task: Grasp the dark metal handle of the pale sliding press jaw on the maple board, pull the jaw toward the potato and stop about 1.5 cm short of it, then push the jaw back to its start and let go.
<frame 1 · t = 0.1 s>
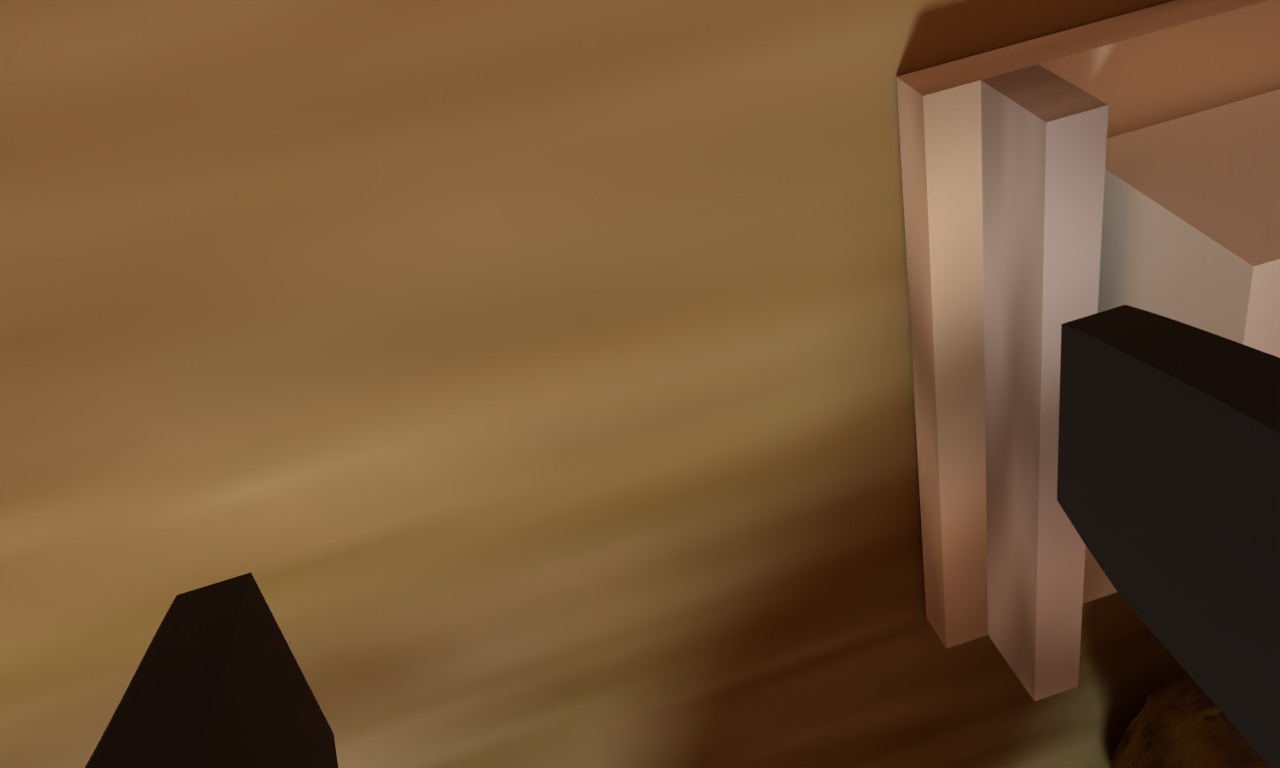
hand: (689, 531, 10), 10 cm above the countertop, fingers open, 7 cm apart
potato: (1172, 712, 32), on the countertop
press board: (1232, 292, 24), on the countertop
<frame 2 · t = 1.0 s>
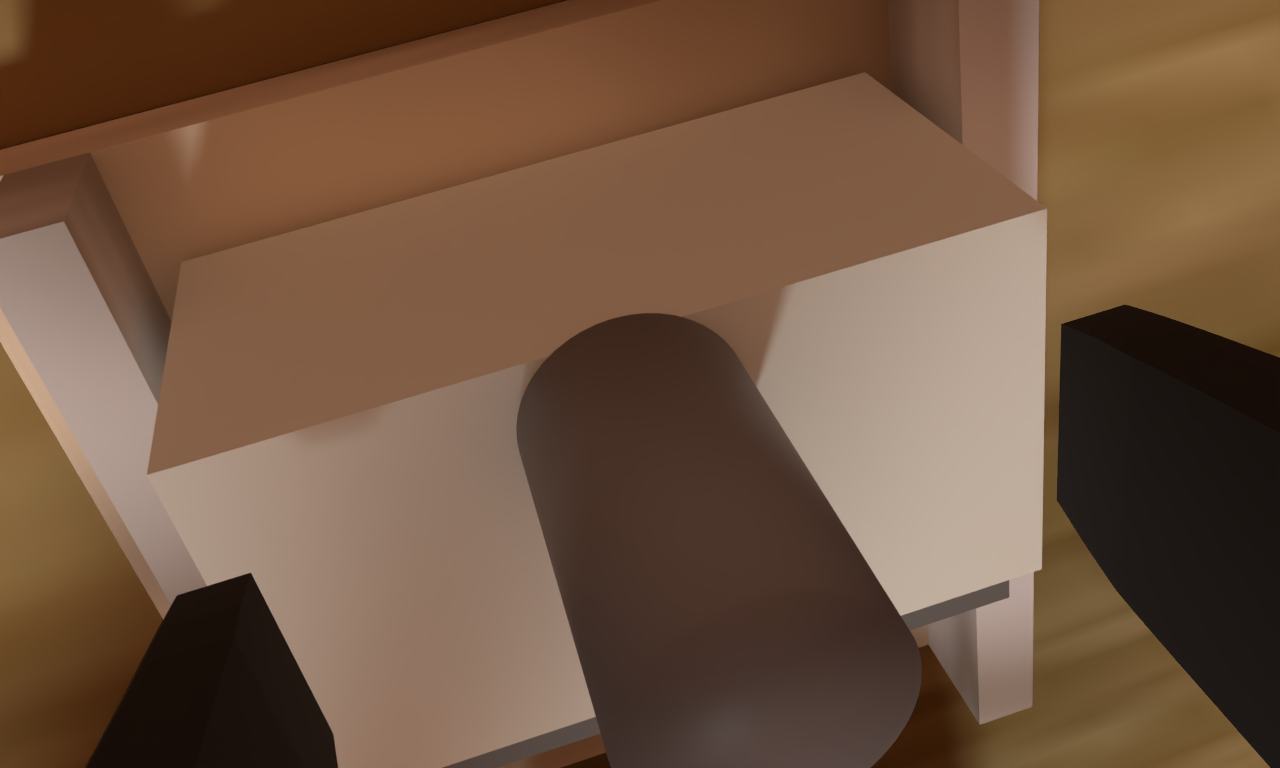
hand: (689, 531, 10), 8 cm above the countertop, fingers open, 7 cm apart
press jaw: (657, 528, 13), point 6 cm above the countertop, slide at 0.0 cm
press board: (592, 419, 19), on the countertop
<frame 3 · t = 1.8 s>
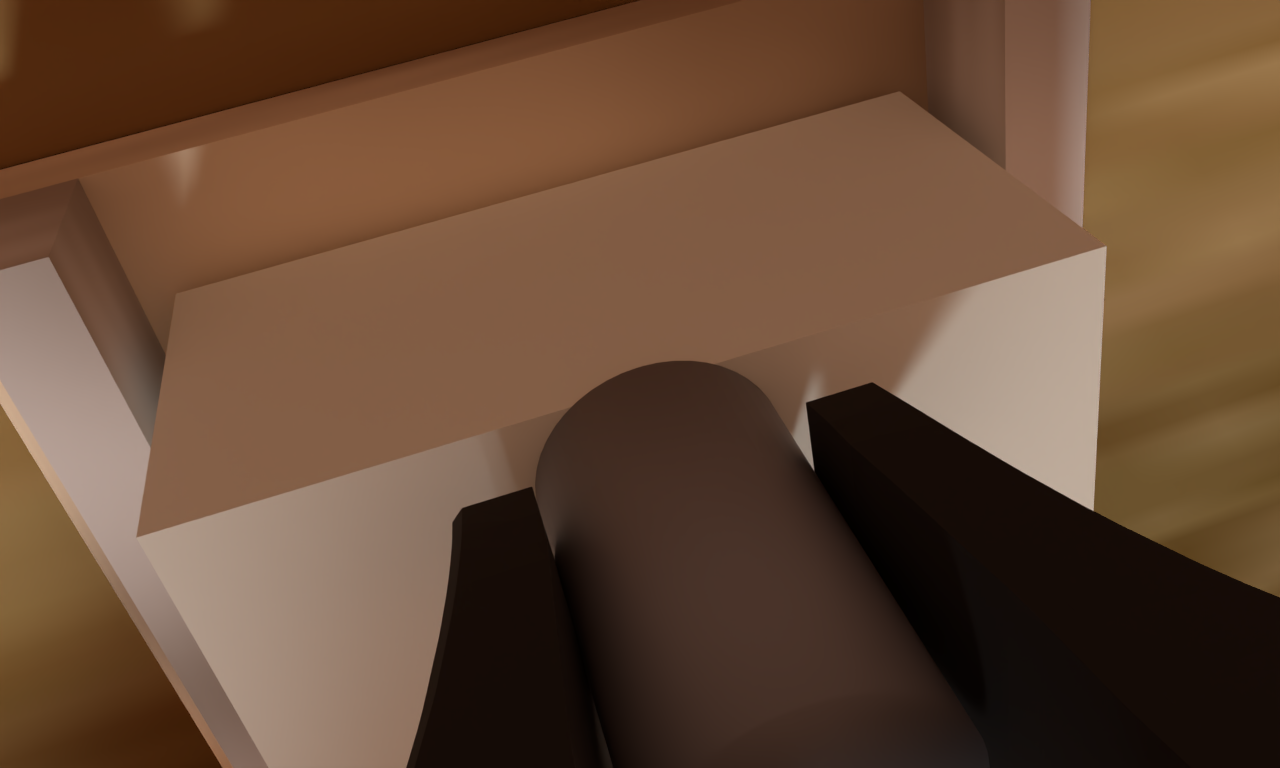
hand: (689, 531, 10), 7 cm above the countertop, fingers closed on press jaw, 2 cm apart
press jaw: (683, 583, 12), point 6 cm above the countertop, slide at 0.0 cm, touching gripper
press board: (607, 450, 18), on the countertop
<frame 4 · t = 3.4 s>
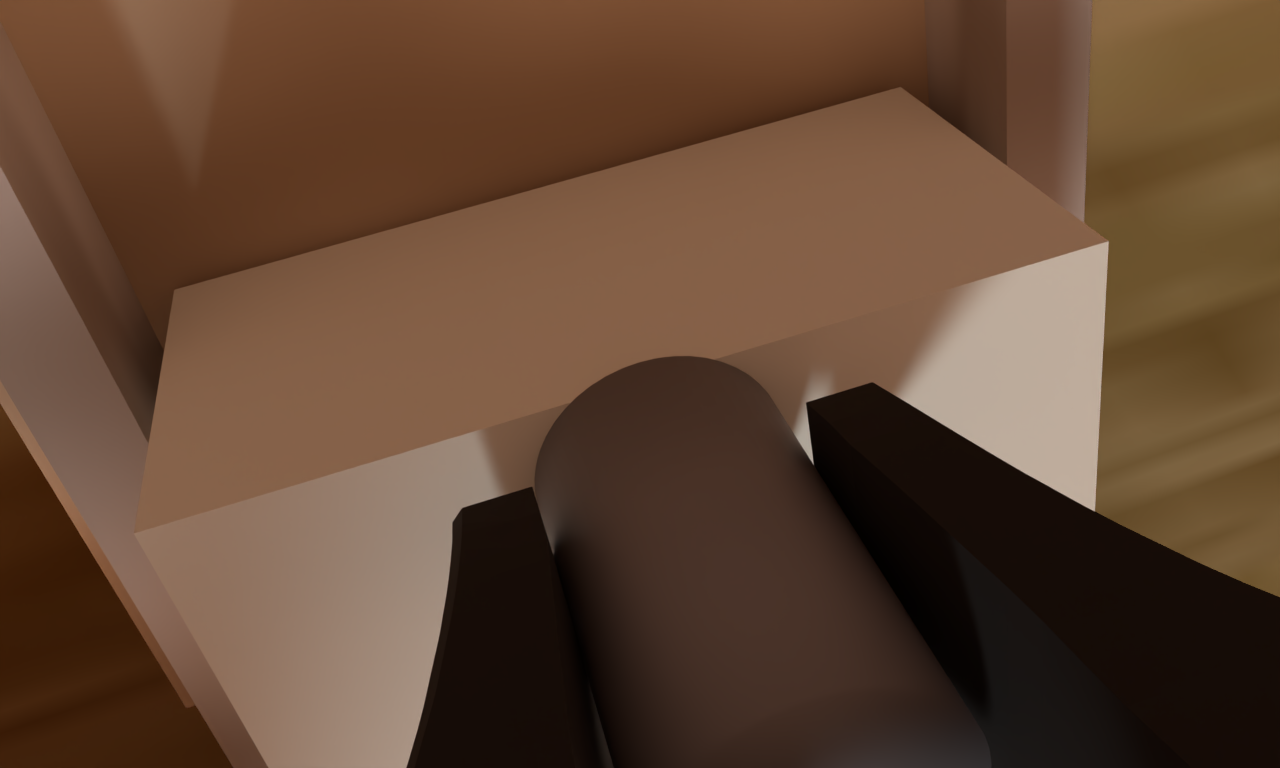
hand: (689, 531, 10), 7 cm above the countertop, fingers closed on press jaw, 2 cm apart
press jaw: (683, 580, 12), point 6 cm above the countertop, slide at 4.9 cm, touching gripper
press board: (531, 150, 15), on the countertop
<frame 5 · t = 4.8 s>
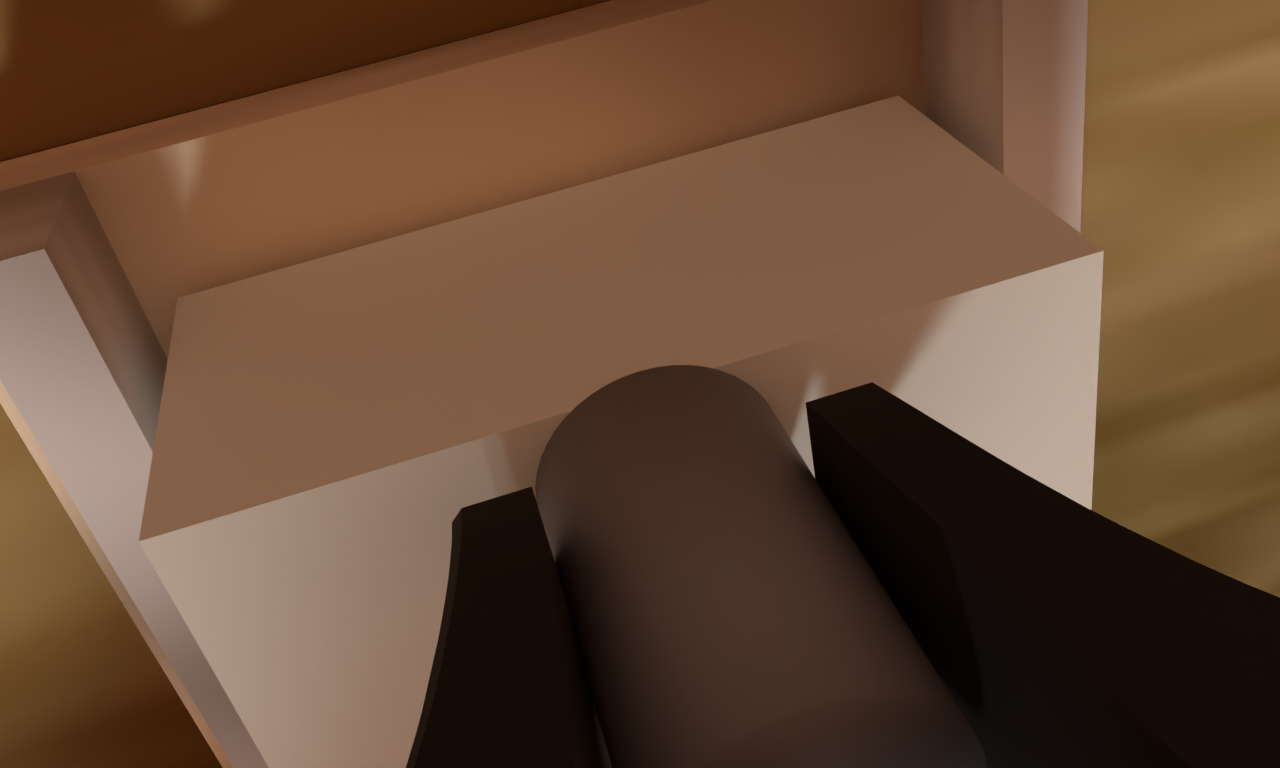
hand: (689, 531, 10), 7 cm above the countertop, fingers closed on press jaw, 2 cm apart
press jaw: (683, 586, 12), point 6 cm above the countertop, slide at 0.1 cm, touching gripper
press board: (605, 445, 18), on the countertop
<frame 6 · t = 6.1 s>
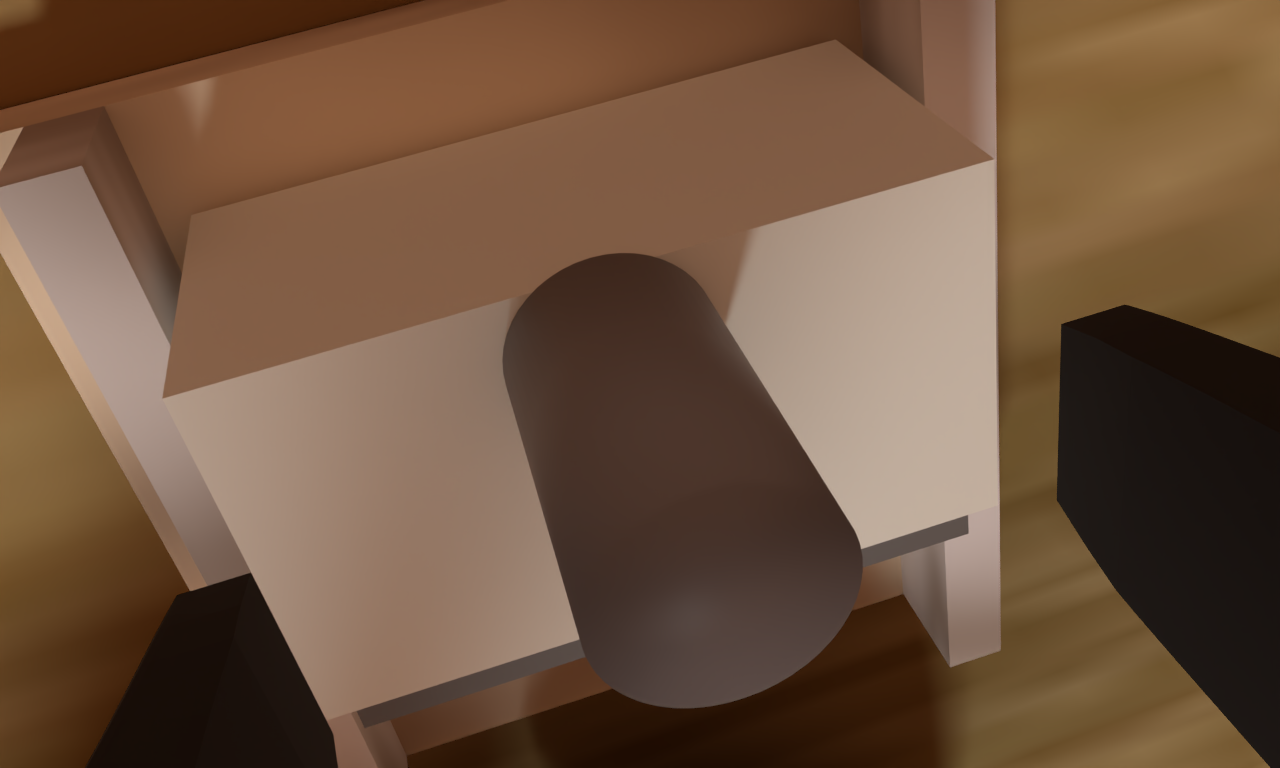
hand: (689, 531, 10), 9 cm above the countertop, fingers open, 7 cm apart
press jaw: (635, 460, 14), point 6 cm above the countertop, slide at 0.1 cm
press board: (579, 371, 20), on the countertop
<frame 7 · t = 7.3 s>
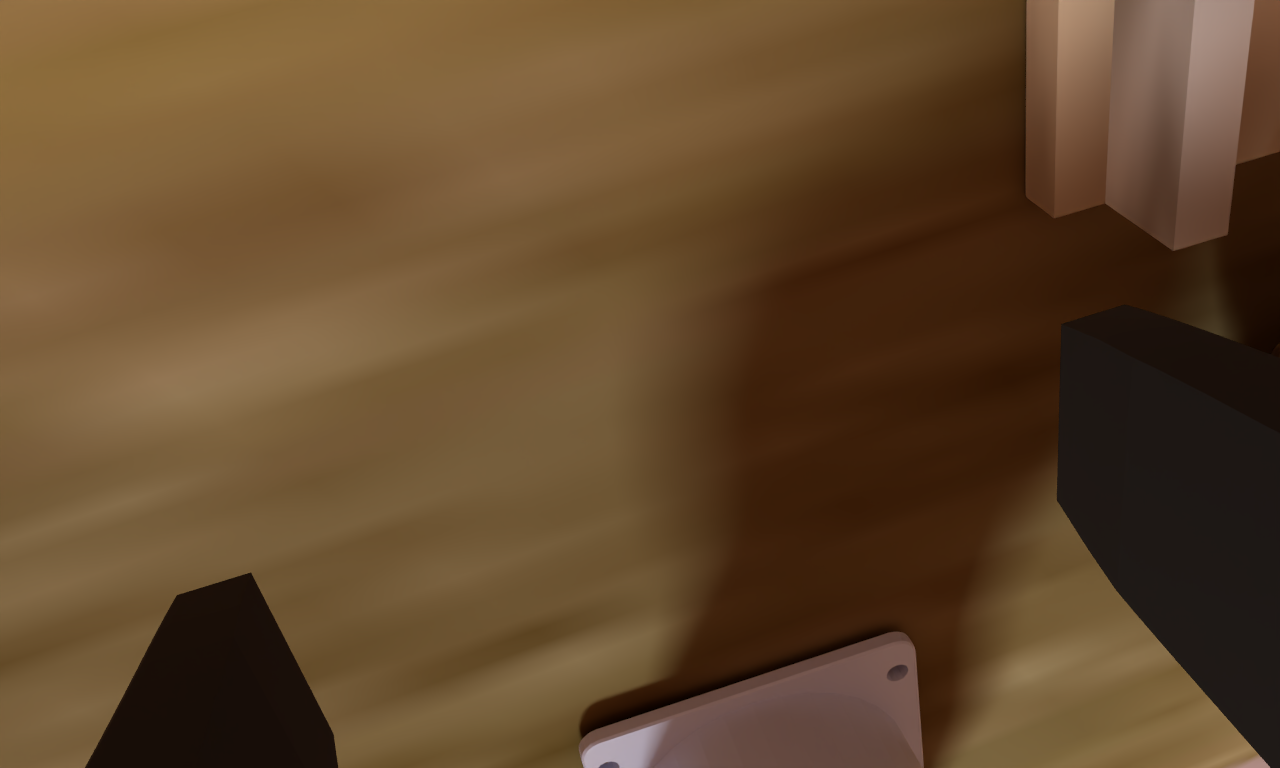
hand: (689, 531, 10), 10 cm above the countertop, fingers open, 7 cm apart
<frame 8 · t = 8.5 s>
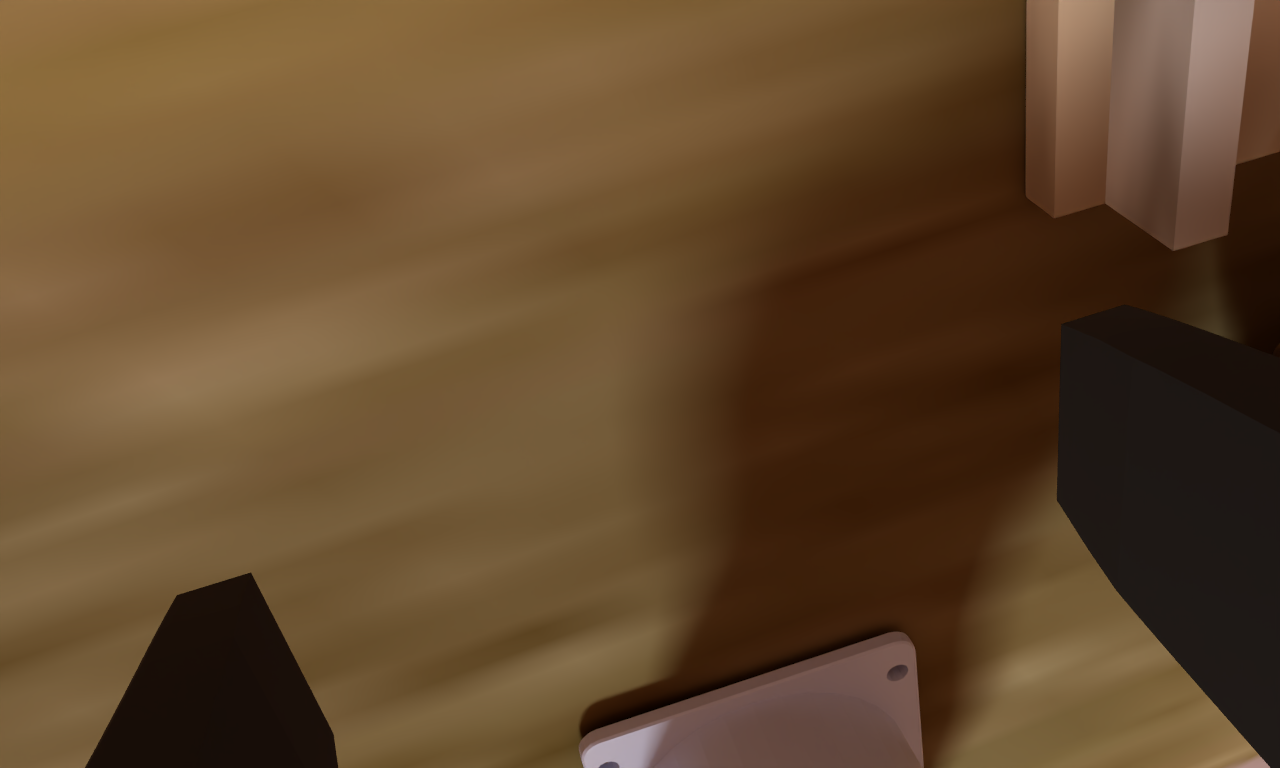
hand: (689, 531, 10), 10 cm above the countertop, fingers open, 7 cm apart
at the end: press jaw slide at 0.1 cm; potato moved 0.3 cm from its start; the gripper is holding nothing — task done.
